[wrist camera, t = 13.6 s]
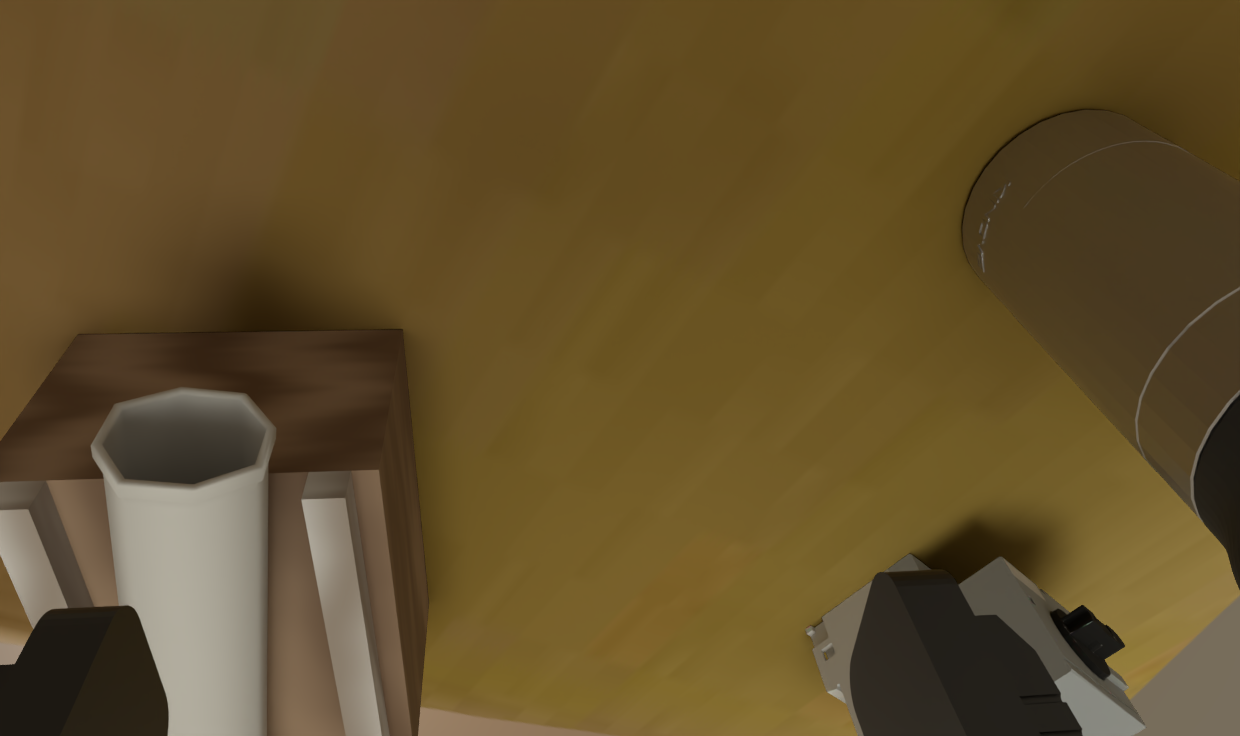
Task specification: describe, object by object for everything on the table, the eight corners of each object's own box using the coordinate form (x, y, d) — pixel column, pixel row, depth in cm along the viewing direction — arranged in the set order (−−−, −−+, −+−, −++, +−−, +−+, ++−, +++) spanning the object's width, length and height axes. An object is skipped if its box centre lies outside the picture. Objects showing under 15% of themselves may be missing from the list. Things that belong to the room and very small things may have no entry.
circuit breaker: (1063, 549, 56) (1226, 779, 43) (877, 676, 60) (975, 915, 48) (996, 490, 52) (1150, 720, 40) (805, 629, 57) (889, 873, 45)
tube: (279, 898, 42) (288, 479, 29) (147, 939, 40) (90, 502, 26) (263, 792, 46) (265, 379, 32) (142, 824, 43) (90, 392, 30)
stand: (402, 329, 42) (373, 496, 33) (428, 603, 52) (412, 793, 43) (77, 334, 41) (-51, 512, 31) (168, 615, 51) (91, 816, 41)
